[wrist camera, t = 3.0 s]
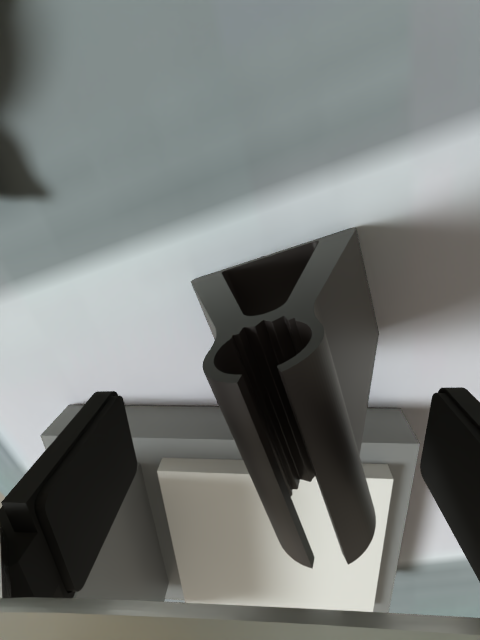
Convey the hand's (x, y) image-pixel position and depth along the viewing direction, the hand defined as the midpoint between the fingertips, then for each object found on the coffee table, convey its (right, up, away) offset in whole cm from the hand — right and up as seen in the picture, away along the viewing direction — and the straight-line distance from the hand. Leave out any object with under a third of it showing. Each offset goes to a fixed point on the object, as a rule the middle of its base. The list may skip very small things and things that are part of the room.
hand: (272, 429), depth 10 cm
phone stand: (+2, +4, +9) cm, 10 cm away
